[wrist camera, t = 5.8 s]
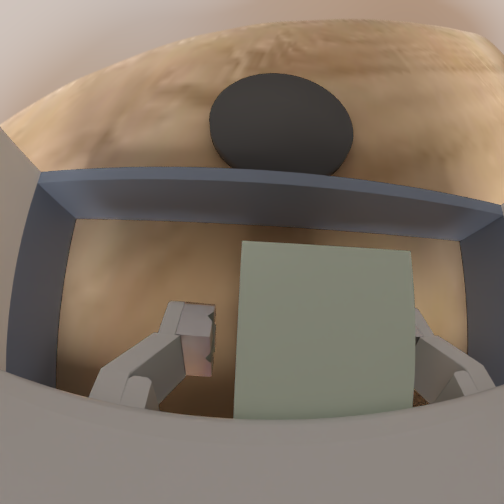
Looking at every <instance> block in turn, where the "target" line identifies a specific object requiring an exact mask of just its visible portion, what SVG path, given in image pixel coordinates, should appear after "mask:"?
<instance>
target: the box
mask: <svg viewBox="0 0 504 504" xmlns="http://www.w3.org/2000/svg"><path fill="white" fill-rule="evenodd" d="M414 377H415V301H414V284H413V271H412V259H411V251H404V250H389V249H374V248H358V247H342V246H326V245H309V244H292V243H275V242H257V241H242V250H241V268H240V287H239V306H238V326H237V347H236V369H235V392H234V415H233V419H264V420H287V419H317V418H333V417H345V416H356V415H365V414H373V413H381V412H388V411H395V410H401V409H407V408H412V407H413V394H414Z"/></svg>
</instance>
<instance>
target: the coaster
mask: <svg viewBox="0 0 504 504" xmlns="http://www.w3.org/2000/svg"><path fill="white" fill-rule="evenodd" d="M209 122H210V132H211V138H212V142H213V144H214V146H215V149H216V150H217V152H218V153H219V155H220V156H221V158H222V159H223V160H224V161H225V162H226V163H227V164H228V165H229V166H231V167H232V168H233V169H252V170H268V171H282V172H294V173H306V174H316V175H326V176H330V175H331V174H333V173H334V172H335V171H336V170H337V169H338V168H339V167H340V166H341V164H342V163H343V162H344V160H345V158H346V156H347V154H348V152H349V150H350V148H351V145H352V142H353V127H352V123H351V120H350V117H349V115H348V113H347V111H346V109H345V108H344V107H343V105H342V104H341V103H340V101H339V100H338V99H337V98H336V97H335V96H334V95H332V94H331V93H330V92H329V91H327V90H326V89H324V88H323V87H321V86H319V85H318V84H316V83H314V82H311V81H309V80H307V79H304V78H301V77H297V76H293V75H287V74H277V73H269V74H259V75H254V76H250V77H247V78H243V79H241V80H239V81H237V82H235V83H233V84H231V85H230V86H228V87H227V88H226V89H225V90H223V92H222V93H221V94H220V95H219V96H218V97H217V99H216V100H215V102H214V104H213V106H212V108H211V112H210V119H209Z"/></svg>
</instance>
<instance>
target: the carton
mask: <svg viewBox="0 0 504 504" xmlns="http://www.w3.org/2000/svg"><path fill="white" fill-rule="evenodd" d="M76 219H121V220H154V221H180V222H204V223H225V224H244V225H262V226H279V227H295V228H310V229H325V230H339V231H352V232H365V233H377V234H389V235H400V236H411V237H422V238H433V239H443V240H453V241H460V246H461V253H462V261H463V269H464V278H465V289H466V302H467V323H468V356H470V357H471V358H473V359H474V360H476V361H477V362H479V363H480V364H482V365H483V366H484V368H485V369H486V371H487V372H488V374H489V376H490V378H491V379H492V381H493V383H494V384H495V386H496V387H497V386H500V385H503V384H504V203H503V204H502V205H498V204H494V203H490V202H485V201H481V200H476V199H472V198H467V197H462V196H457V195H452V194H447V193H442V192H437V191H431V190H426V189H420V188H414V187H408V186H402V185H395V184H389V183H382V182H375V181H368V180H360V179H352V178H344V177H335V176H326V175H316V174H306V173H294V172H282V171H268V170H252V169H233V168H206V167H120V168H94V169H76V170H61V171H48V172H41V171H40V170H39V169H38V168H37V167H36V166H35V165H34V164H33V163H32V162H31V161H30V160H29V159H28V158H27V157H26V155H25V154H24V153H23V152H22V151H21V150H20V149H19V148H18V147H17V146H16V144H15V143H14V142H13V141H12V140H11V139H10V138H9V137H8V135H7V134H6V133H5V132H4V131H3V130H2V128H1V127H0V369H1V370H3V371H6V372H8V373H11V374H14V375H16V376H19V377H22V378H25V379H28V380H30V381H33V382H36V383H39V384H43V385H46V386H49V387H52V388H56V355H57V338H58V326H59V315H60V306H61V298H62V290H63V283H64V277H65V270H66V265H67V259H68V253H69V248H70V243H71V238H72V234H73V229H74V225H75V220H76Z"/></svg>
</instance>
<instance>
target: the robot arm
mask: <svg viewBox="0 0 504 504" xmlns="http://www.w3.org/2000/svg"><path fill="white" fill-rule="evenodd" d="M215 318H216V306H215V304H204V303H193V302H181V301H170V302H169V303H168V306H167V308H166V311H165V314H164V317H163V320H162V323H161V325H160V328H159V331H158V333H152V334H151V335H149V336H148V337H146V338H145V339H143V340H142V341H141V342H139V343H138V344H136V345H135V346H133V347H132V348H130V349H129V350H127V351H126V352H124V353H123V354H121V355H120V356H118V357H117V358H115V359H114V360H113V361H111V362H110V363H108V364H107V365H105V366H104V367H102V368H101V369H100V372H99V374H98V376H97V378H96V381H95V383H94V385H93V388H92V390H91V392H90V395H89V397H85V396H81V395H77V394H73V393H70V392H66V391H62V390H59V389H56V388H52V387H49V386H46V385H43V384H39V383H36V382H33V381H30V380H28V379H25V378H22V377H19V376H16V375H14V374H11V373H8V372H6V371H3V370H1V369H0V504H504V384H503V385H500V386H497V387H496V386H495V384H494V383H493V381H492V379H491V378H490V376H489V374H488V372H487V371H486V369H485V368H484V366H483V365H482V364H480V363H479V362H477V361H476V360H474V359H473V358H471V357H470V356H468V355H467V354H465V353H464V352H462V351H461V350H459V349H458V348H456V347H455V346H453V345H452V344H450V343H448V342H447V341H445V340H444V339H442V338H441V337H439V336H435V335H434V334H433V332H432V331H431V329H430V327H429V326H428V324H427V322H426V321H425V319H424V318H423V316H422V315H421V313H420V311H419V310H418V309H417V308H415V377H414V389H415V390H416V391H417V392H418V393H419V394H420V395H421V396H422V397H423V398H424V399H425V400H426V401H427V402H428V403H429V404H428V405H423V406H418V407H412V408H407V409H401V410H395V411H388V412H381V413H373V414H365V415H356V416H345V417H333V418H317V419H287V420H264V419H233V418H217V417H205V416H194V415H185V414H176V413H169V412H161V411H160V409H159V404H160V403H161V402H162V400H163V399H164V398H165V397H166V396H167V395H168V394H169V393H170V392H171V391H172V390H173V389H174V388H175V387H176V386H177V385H178V384H179V383H180V382H181V381H182V380H183V379H184V378H185V377H186V376H185V375H190V376H206V377H211V376H212V369H213V353H214V352H215V344H216V324H215Z"/></svg>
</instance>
